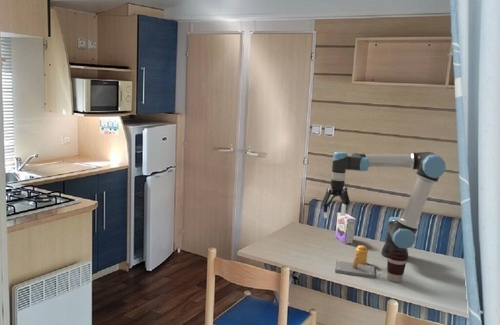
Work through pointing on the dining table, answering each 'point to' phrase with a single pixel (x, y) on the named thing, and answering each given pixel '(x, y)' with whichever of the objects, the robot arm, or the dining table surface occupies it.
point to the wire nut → (361, 254)
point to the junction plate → (355, 268)
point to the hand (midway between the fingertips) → (334, 216)
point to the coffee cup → (396, 265)
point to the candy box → (345, 228)
